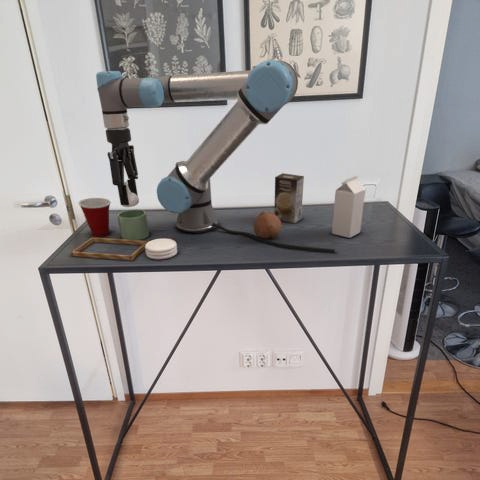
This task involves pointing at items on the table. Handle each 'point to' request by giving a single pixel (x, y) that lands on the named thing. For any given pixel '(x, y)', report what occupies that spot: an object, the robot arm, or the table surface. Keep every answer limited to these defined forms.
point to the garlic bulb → (131, 197)
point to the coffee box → (288, 197)
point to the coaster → (161, 249)
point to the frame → (109, 256)
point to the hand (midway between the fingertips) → (129, 201)
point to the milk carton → (348, 208)
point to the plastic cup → (96, 215)
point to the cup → (133, 224)
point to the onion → (267, 226)
